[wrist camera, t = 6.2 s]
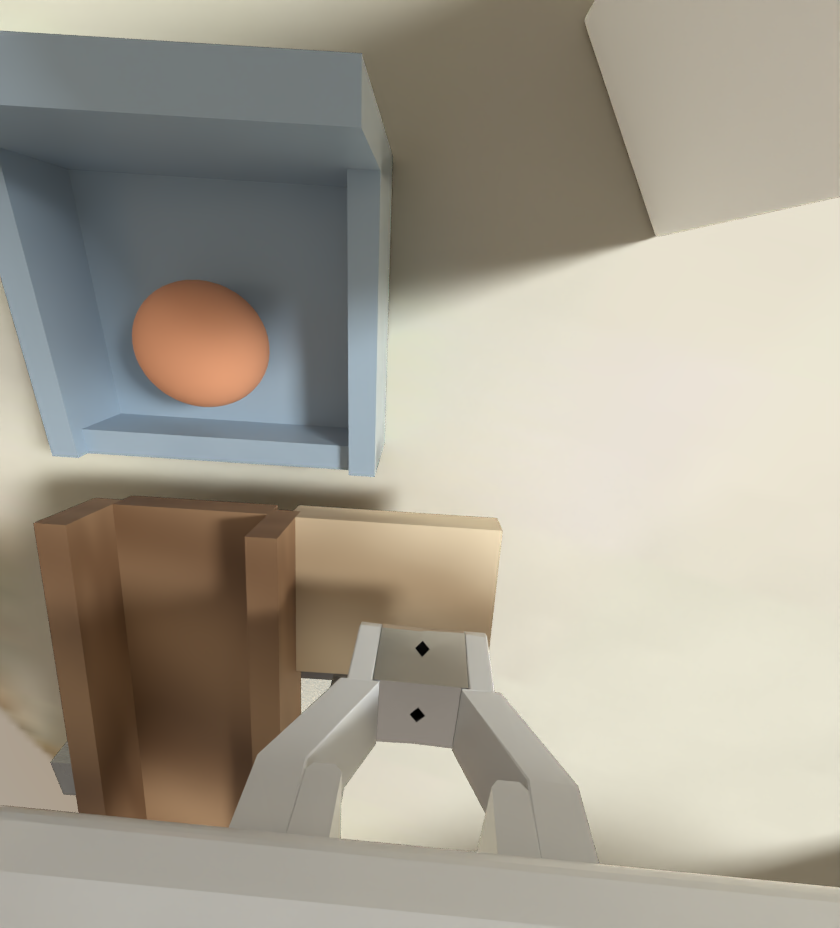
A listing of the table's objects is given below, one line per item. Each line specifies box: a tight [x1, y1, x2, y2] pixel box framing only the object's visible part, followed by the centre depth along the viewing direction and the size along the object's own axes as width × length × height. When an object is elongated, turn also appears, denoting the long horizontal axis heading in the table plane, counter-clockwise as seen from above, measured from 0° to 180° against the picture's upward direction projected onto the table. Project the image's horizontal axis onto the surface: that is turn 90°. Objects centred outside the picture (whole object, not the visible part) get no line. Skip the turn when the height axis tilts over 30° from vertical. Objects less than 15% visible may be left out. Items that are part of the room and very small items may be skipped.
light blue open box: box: [0, 31, 393, 477], centre depth 12 cm, size 10×9×6 cm
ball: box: [132, 280, 270, 407], centre depth 12 cm, size 4×4×4 cm
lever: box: [34, 496, 503, 828], centre depth 14 cm, size 19×12×4 cm, turn 176°
